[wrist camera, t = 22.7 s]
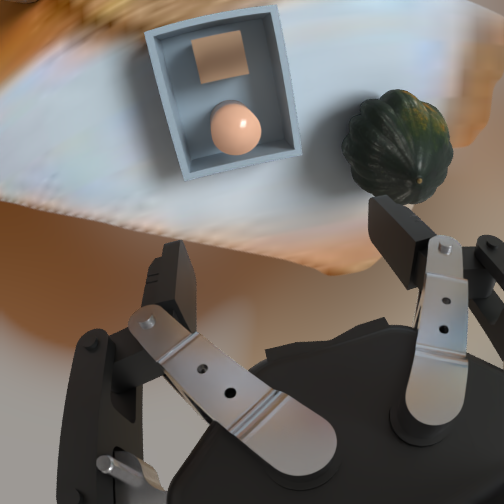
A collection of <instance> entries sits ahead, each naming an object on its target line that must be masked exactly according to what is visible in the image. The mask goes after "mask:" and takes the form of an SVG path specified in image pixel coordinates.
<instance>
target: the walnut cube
mask: <svg viewBox="0 0 504 504" xmlns="http://www.w3.org/2000/svg"><path fill="white" fill-rule="evenodd" d="M191 43H192V47H193V51H194V56H195V60H196V64H197V69H198V73H199V77H200V81H201V84H204V83H208V82H212V81H217V80H221V79H226V78H231V77H236V76H241V75H246V74H249V70H248V65H247V60H246V55H245V50H244V46H243V41H242V36H241V31H240V30H238V31H233V32H227V33H222V34H217V35H212V36H207V37H203V38H198V39H194V40H191Z"/></svg>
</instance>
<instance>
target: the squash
mask: <svg viewBox="0 0 504 504" xmlns="http://www.w3.org/2000/svg"><path fill="white" fill-rule="evenodd" d="M360 112H361V115H357V116H354V117H353V118H352V119H351V121H350V122H349V131H350V134H349V135H348V136H347V137H346V138H345V139H344V141H343V144H342V151H343V154H344V156H345V158H346V160H347V161H348V162H349V163H350V165H351V171H352V176H353V179H354V180H355V182H356V183H357V184H358V185H359V186H360V187H361V188H362V189H364V190H365V191H367V192H369V193H372V194H373V195H374V196H375V197H377V196H382V195H387V196H389V197H390V198H391V199H392V200H393V201H394V202H395V203H396V204H398V203H399V204H401V205H406V204H418V203H422V202H424V201H426V200H427V199H428V198H430V197H431V196H432V195H433V194H434V192H435V191H436V188H437V187H438V186H439V185H441V184H442V183H443V182H444V179H445V178H446V176H447V169H448V166H449V165H450V163H451V161H452V158H453V148H452V145H451V143H450V141H449V140H450V136H449V131H448V127H447V124H446V121H445V119H444V118H443V116H442V114H441V113H440V112H439V110H438V109H437V108H436V107H434V106H432V105H431V104H429V103H426V102H422V101H419V100H418V99H417V98H416V97H415V96H414V95H412V94H411V93H409V92H408V91H405V90H399V89H396V90H390V91H388V92H386V93H385V94H384V95H382V96H381V98H380V99H369V100H366V101H364V102H363V103H362V104H361V107H360Z"/></svg>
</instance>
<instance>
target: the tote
mask: <svg viewBox="0 0 504 504" xmlns="http://www.w3.org/2000/svg"><path fill="white" fill-rule="evenodd" d="M238 30H240V31H241V36H242V41H243V46H244V50H245V55H246V60H247V65H248V70H249V74H246V75H241V76H236V77H231V78H226V79H221V80H217V81H212V82H208V83H204V84H201V81H200V77H199V73H198V69H197V64H196V60H195V56H194V51H193V47H192V43H191V40H194V39H198V38H203V37H207V36H212V35H217V34H222V33H227V32H233V31H238ZM144 34H145V38H146V42H147V46H148V50H149V55H150V59H151V63H152V66H153V70H154V74H155V78H156V82H157V86H158V90H159V93H160V97H161V101H162V105H163V108H164V112H165V115H166V119H167V123H168V126H169V130H170V133H171V137H172V140H173V144H174V147H175V151H176V154H177V158H178V161H179V164H180V168H181V171H182V174H183V178H184V181H188V180H192V179H196V178H200V177H204V176H208V175H212V174H216V173H220V172H224V171H228V170H233V169H237V168H241V167H246V166H250V165H255V164H260V163H264V162H269V161H274V160H279V159H284V158H289V157H295V156H300V155H302V147H301V140H300V133H299V126H298V119H297V112H296V105H295V99H294V93H293V87H292V81H291V75H290V69H289V63H288V58H287V53H286V47H285V42H284V37H283V32H282V27H281V22H280V17H279V12H278V8H277V5H268V6H260V7H252V8H245V9H238V10H232V11H226V12H221V13H216V14H211V15H206V16H201V17H197V18H193V19H189V20H185V21H181V22H177V23H173V24H170V25H166V26H163V27H159V28H156V29H153V30H150V31H146V32H144ZM225 100H237V101H240V102H242V103H243V104H244V105H246V106H247V108H248V109H249V110H250V111H251V112H252V113H253V114H254V115H255V116H256V118H257V119H258V121H259V123H260V126H261V137H260V140H259V142H258V144H257V145H256V146H255V147H254V148H253V149H252V150H251V151H249V152H247V153H245V154H242V155H229V154H226V153H224V152H222V151H220V150H219V149H218V148H217V147H216V145H215V144H214V142H213V140H212V135H211V127H210V115H211V112H212V110H213V109H214V107H215V106H216V105H217V104H219V103H220V102H222V101H225Z"/></svg>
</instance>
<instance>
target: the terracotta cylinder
mask: <svg viewBox="0 0 504 504" xmlns="http://www.w3.org/2000/svg"><path fill="white" fill-rule="evenodd" d="M210 127H211V135H212V140H213V142H214V144H215V145H216V147H217V148H218V149H219V150H220V151H222V152H224V153H226V154H229V155H242V154H245V153H247V152H249V151H251V150H252V149H253V148H254V147H255V146H256V145H257V144H258V142H259V140H260V137H261V126H260V123H259V121H258V119H257V118H256V116H255V115H254V114H253V113H252V112H251V111H250V110H249V109H248V108H247V106H246V105H244V104H243V103H242V102H240V101H237V100H225V101H222V102H220V103H219V104H217V105H216V106H215V107H214V109H213V110H212V112H211V115H210Z"/></svg>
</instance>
